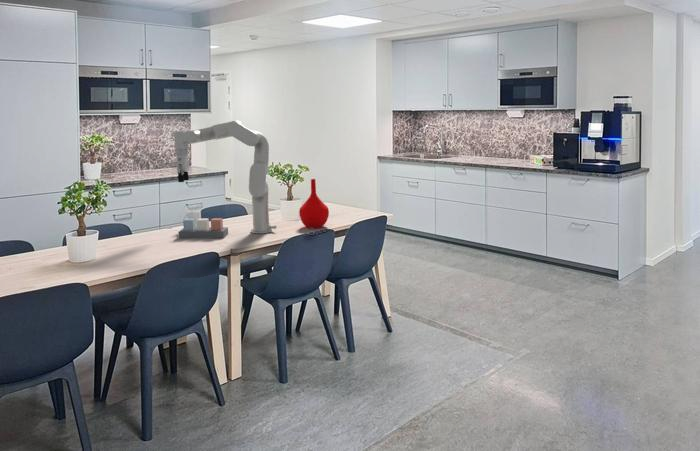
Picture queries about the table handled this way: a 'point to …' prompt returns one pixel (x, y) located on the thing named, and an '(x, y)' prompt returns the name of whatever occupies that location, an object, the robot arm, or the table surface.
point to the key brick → (216, 224)
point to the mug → (193, 215)
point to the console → (203, 233)
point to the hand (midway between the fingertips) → (183, 181)
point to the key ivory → (203, 224)
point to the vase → (314, 210)
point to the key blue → (189, 224)
